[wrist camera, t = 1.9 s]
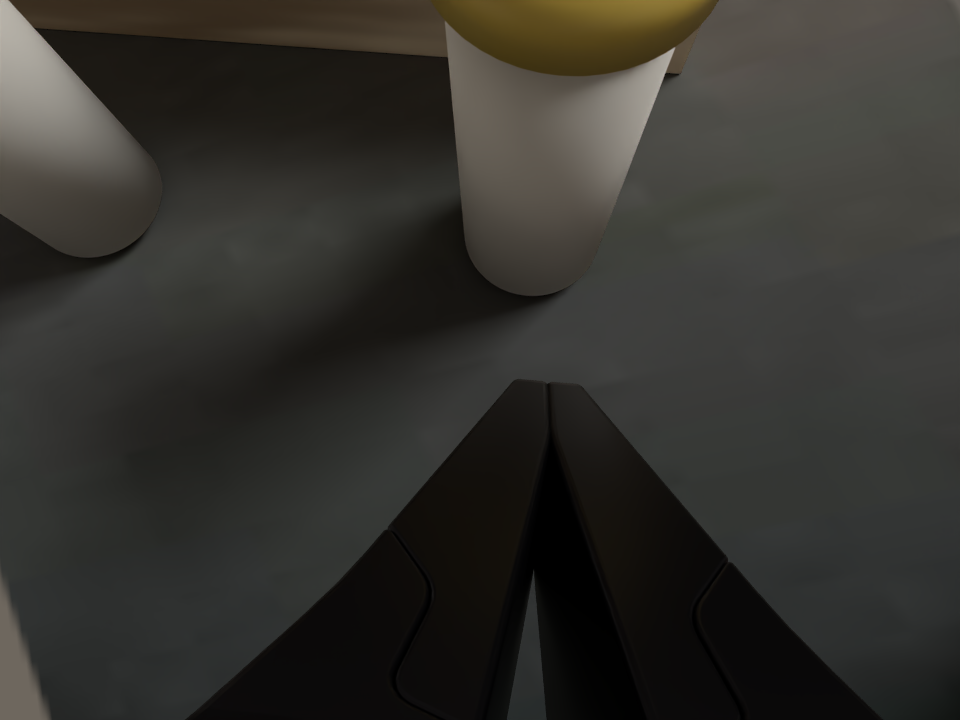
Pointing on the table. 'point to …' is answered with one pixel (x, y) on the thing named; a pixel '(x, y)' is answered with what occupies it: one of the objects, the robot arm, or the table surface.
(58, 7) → the mount
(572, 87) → the white cylinder
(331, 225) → the table surface
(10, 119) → the grey capped bottle
